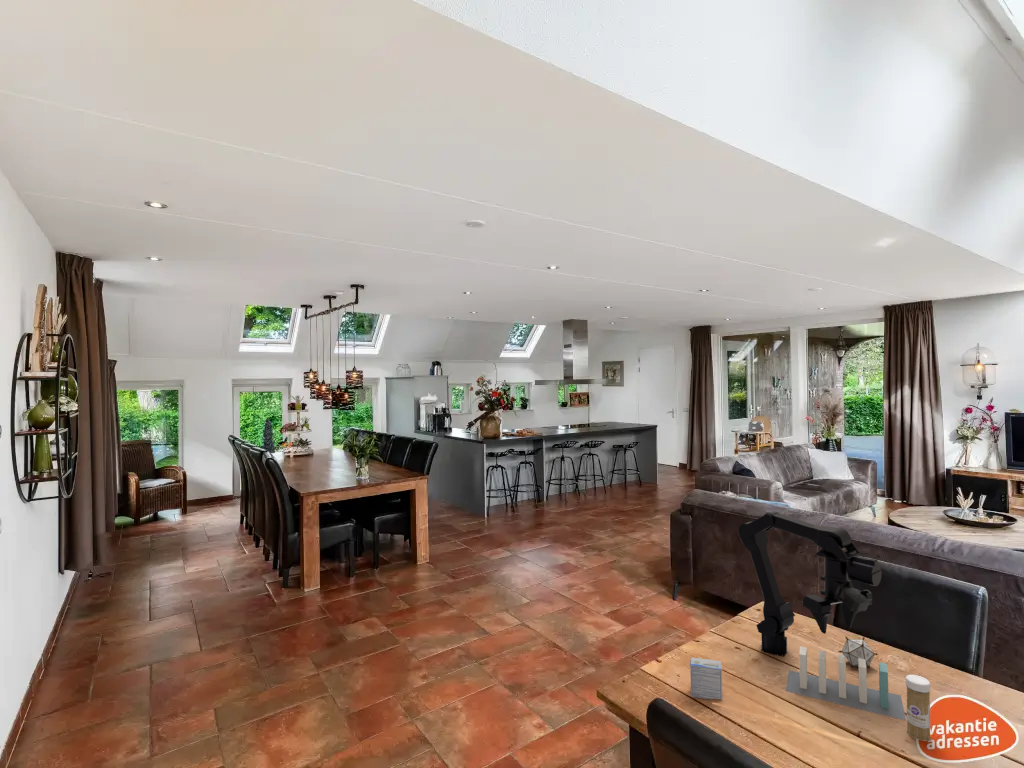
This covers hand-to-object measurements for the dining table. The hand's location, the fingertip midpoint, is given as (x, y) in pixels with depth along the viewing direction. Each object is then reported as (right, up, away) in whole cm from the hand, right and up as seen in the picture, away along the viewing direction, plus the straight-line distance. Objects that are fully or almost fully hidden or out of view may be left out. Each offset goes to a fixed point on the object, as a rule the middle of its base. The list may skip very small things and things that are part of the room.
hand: (836, 630), depth 151 cm
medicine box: (-39, -14, -7) cm, 42 cm away
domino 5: (+4, -12, -13) cm, 19 cm away
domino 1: (-11, -13, -4) cm, 17 cm away
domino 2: (-7, -13, -7) cm, 16 cm away
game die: (+10, -13, +5) cm, 17 cm away
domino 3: (-4, -13, -9) cm, 16 cm away
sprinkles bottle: (+4, -13, -26) cm, 29 cm away
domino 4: (0, -12, -11) cm, 17 cm away
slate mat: (-4, -13, -9) cm, 16 cm away
